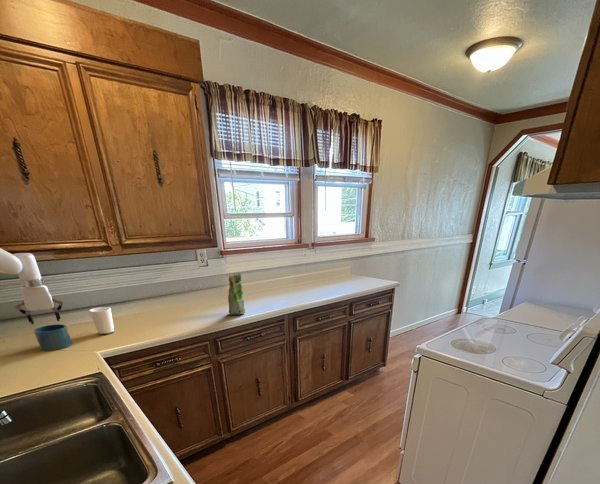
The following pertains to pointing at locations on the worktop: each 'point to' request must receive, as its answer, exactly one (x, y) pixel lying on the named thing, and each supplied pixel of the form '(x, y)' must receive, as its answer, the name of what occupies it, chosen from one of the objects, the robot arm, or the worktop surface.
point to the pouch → (235, 295)
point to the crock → (53, 337)
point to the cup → (102, 320)
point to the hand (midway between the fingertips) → (45, 322)
